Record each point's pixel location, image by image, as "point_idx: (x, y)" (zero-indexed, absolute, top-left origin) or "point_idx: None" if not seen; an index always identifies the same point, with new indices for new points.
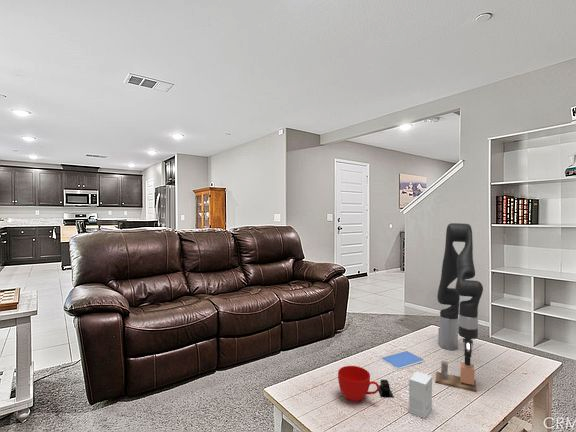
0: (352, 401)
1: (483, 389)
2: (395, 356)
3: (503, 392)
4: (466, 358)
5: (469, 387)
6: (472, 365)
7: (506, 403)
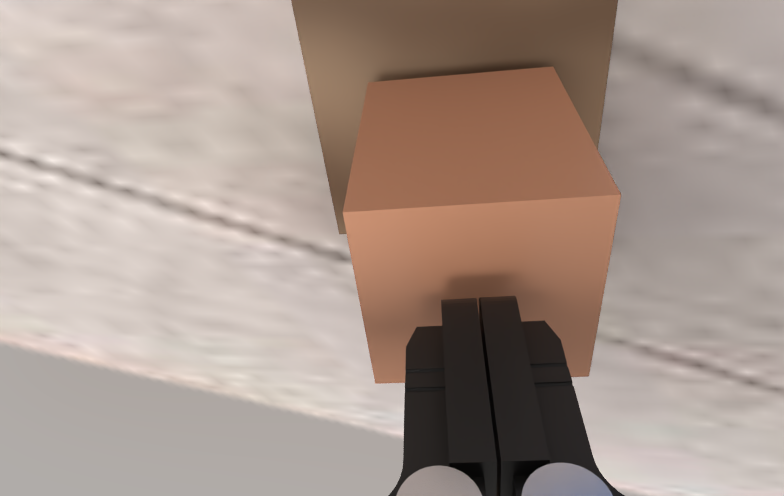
0: None
1: None
2: None
3: None
4: (405, 454)
5: (349, 172)
6: None
7: (308, 388)
